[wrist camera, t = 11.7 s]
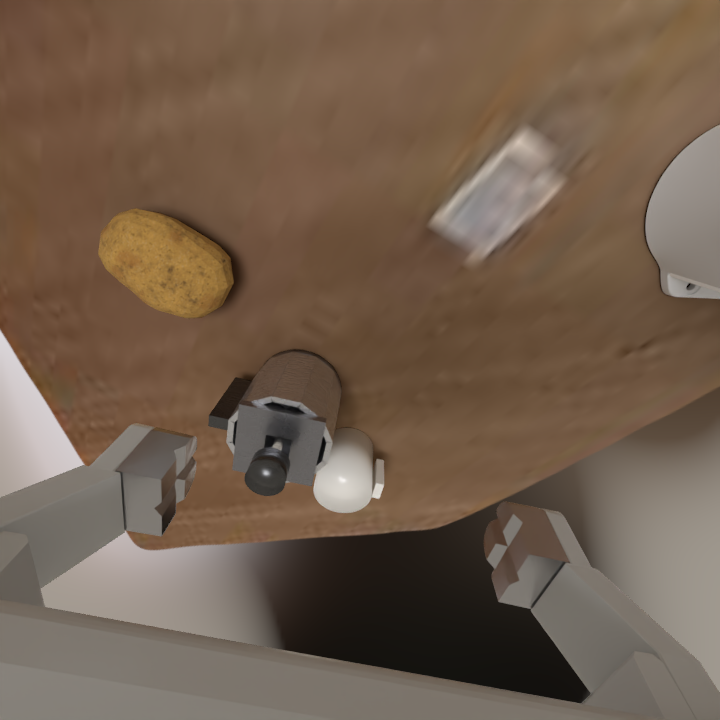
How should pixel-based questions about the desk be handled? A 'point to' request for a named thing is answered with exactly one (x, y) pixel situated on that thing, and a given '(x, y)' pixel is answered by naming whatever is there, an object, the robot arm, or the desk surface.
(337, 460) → the white ceramic cylinder
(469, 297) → the desk surface
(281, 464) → the plunger
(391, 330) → the desk surface
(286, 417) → the carafe
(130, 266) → the potato
